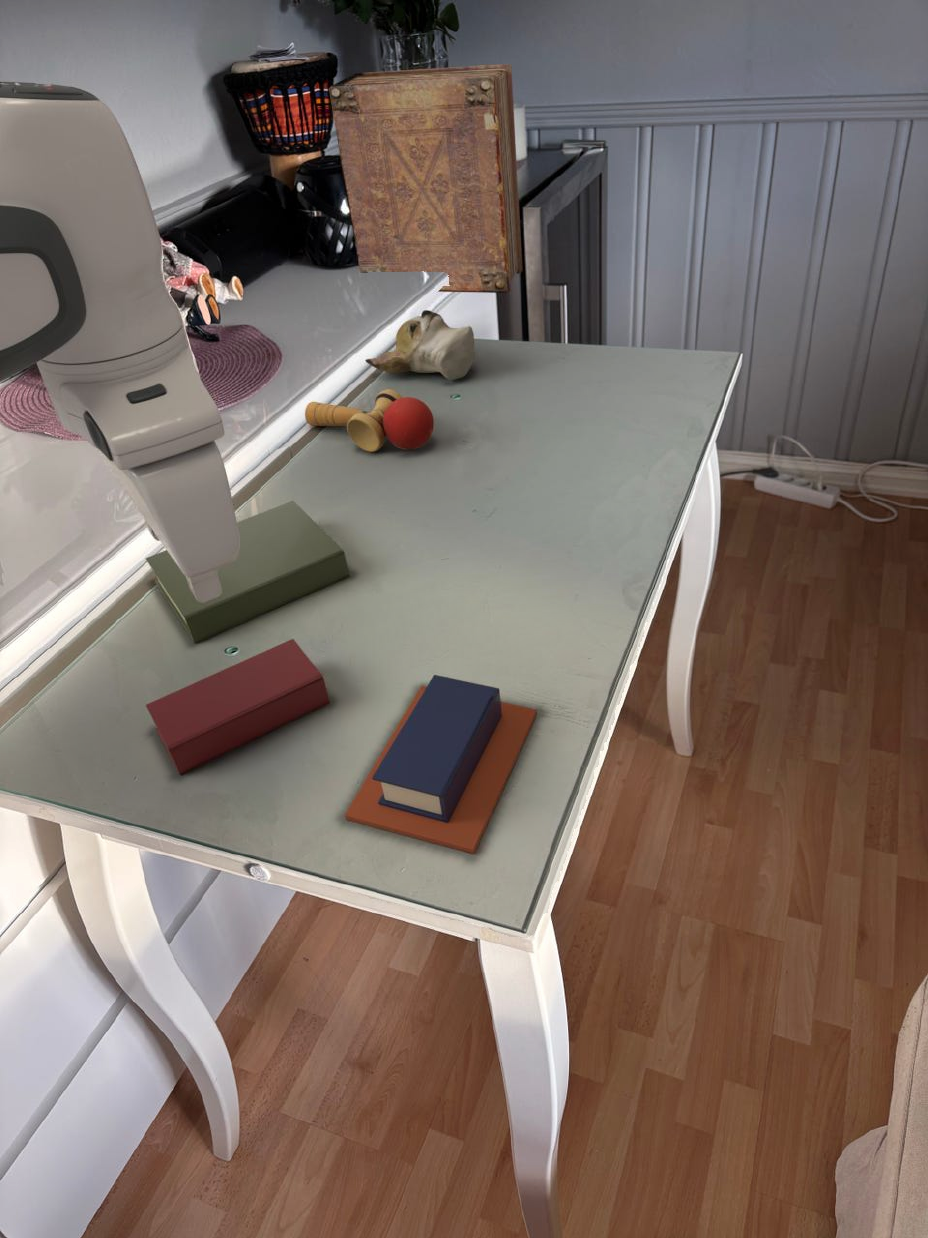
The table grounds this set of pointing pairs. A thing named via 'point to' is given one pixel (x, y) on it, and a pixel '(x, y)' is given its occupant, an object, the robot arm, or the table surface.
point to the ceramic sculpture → (429, 348)
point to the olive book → (256, 572)
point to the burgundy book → (237, 705)
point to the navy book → (439, 748)
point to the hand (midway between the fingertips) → (184, 563)
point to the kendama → (379, 421)
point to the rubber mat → (475, 798)
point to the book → (432, 173)
